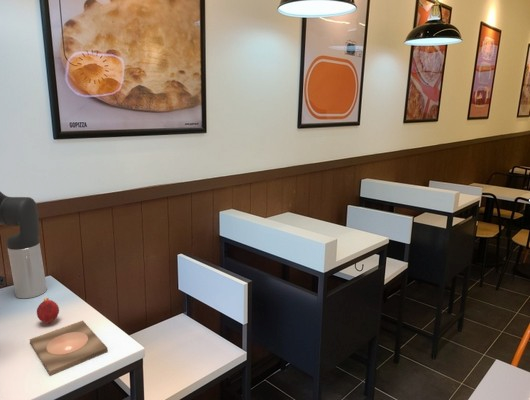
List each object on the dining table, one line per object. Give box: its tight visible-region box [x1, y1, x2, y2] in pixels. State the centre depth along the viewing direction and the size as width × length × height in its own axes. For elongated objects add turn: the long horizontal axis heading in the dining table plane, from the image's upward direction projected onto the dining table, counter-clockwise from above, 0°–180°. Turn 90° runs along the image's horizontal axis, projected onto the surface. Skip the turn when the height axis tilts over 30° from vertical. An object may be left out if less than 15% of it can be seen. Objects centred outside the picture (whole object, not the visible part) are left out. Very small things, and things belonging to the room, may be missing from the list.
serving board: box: [29, 320, 109, 377], centre depth 110 cm, size 18×14×1 cm
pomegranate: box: [36, 296, 60, 324], centre depth 121 cm, size 6×6×8 cm
